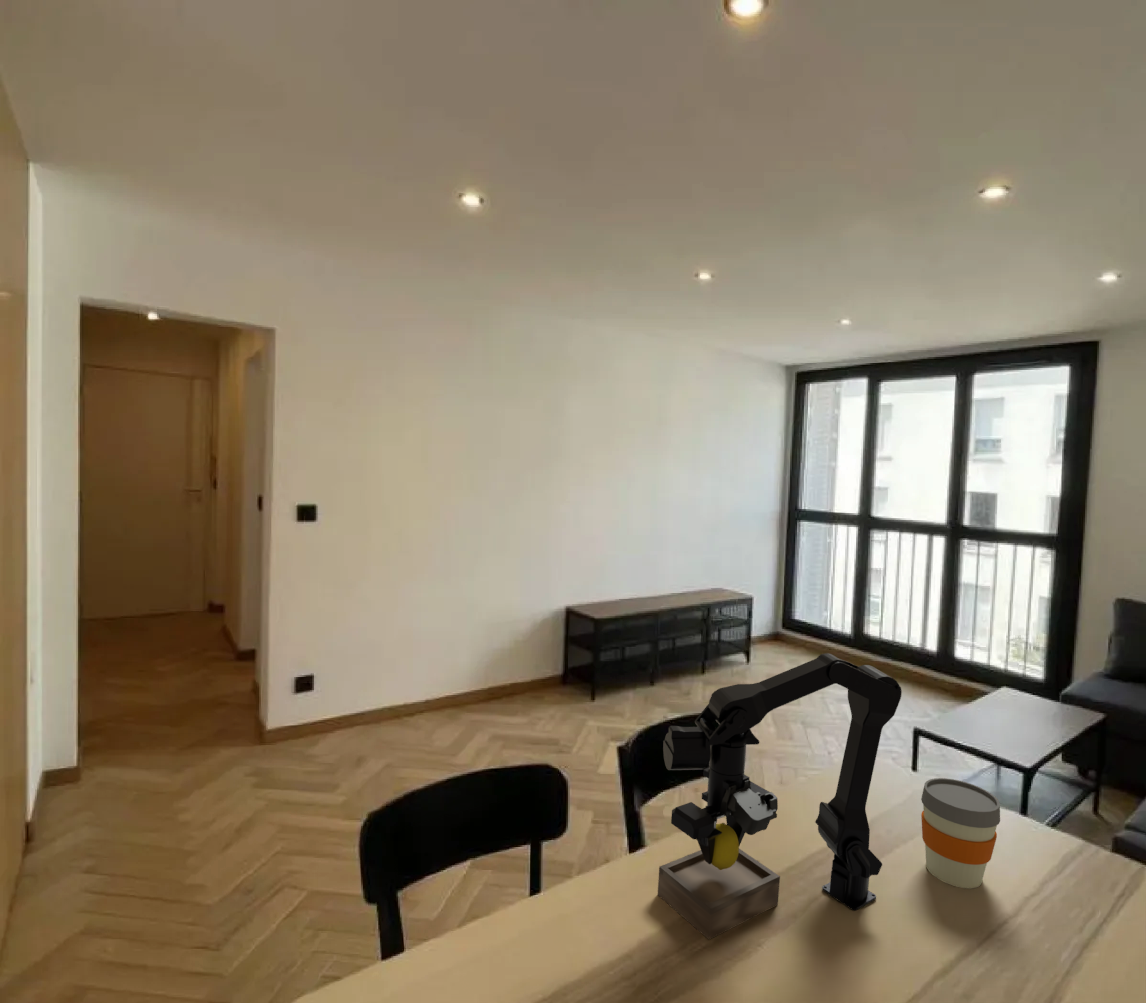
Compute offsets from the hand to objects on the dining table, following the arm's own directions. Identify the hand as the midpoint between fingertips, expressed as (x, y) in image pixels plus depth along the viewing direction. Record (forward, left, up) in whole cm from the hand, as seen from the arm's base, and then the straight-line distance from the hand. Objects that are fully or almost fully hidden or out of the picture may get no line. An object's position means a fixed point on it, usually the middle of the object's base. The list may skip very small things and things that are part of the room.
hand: (720, 857), depth 113 cm
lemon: (0, 0, -2) cm, 2 cm away
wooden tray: (0, 0, -7) cm, 7 cm away
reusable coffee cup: (-44, +16, -8) cm, 48 cm away
